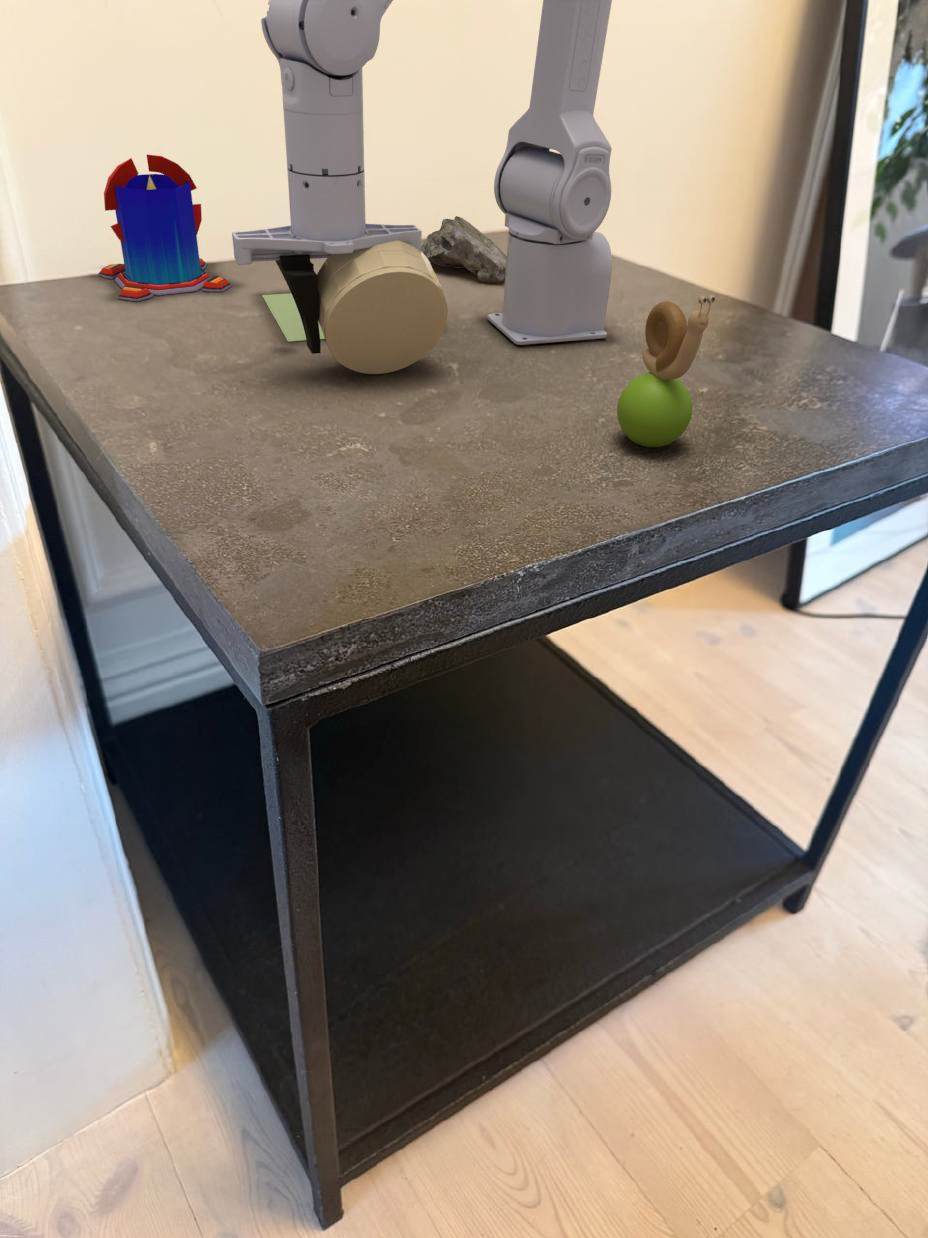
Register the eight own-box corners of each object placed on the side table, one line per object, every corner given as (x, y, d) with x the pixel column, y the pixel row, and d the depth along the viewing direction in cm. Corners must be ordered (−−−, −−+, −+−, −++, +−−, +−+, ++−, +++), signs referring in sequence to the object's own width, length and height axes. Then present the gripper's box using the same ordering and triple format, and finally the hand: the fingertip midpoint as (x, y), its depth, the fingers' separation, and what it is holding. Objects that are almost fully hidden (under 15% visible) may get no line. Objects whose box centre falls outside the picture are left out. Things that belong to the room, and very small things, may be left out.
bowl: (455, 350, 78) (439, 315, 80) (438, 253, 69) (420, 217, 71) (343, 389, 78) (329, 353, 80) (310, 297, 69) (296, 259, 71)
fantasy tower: (120, 303, 90) (97, 168, 82) (94, 271, 98) (70, 146, 91) (237, 290, 95) (224, 162, 87) (203, 260, 103) (188, 141, 96)
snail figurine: (644, 470, 65) (675, 299, 58) (599, 433, 70) (622, 271, 63) (707, 459, 67) (744, 292, 60) (658, 424, 72) (687, 266, 65)
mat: (393, 287, 98) (393, 287, 98) (434, 330, 87) (434, 330, 87) (262, 295, 93) (261, 295, 93) (287, 341, 83) (287, 341, 83)
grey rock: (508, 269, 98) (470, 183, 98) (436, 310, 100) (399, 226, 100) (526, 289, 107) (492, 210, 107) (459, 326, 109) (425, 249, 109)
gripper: (235, 182, 63) (253, 372, 71) (435, 177, 67) (431, 357, 75) (221, 162, 68) (239, 341, 76) (407, 159, 73) (406, 329, 81)
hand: (333, 347), depth 76 cm, fingers closed on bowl, 3 cm apart
